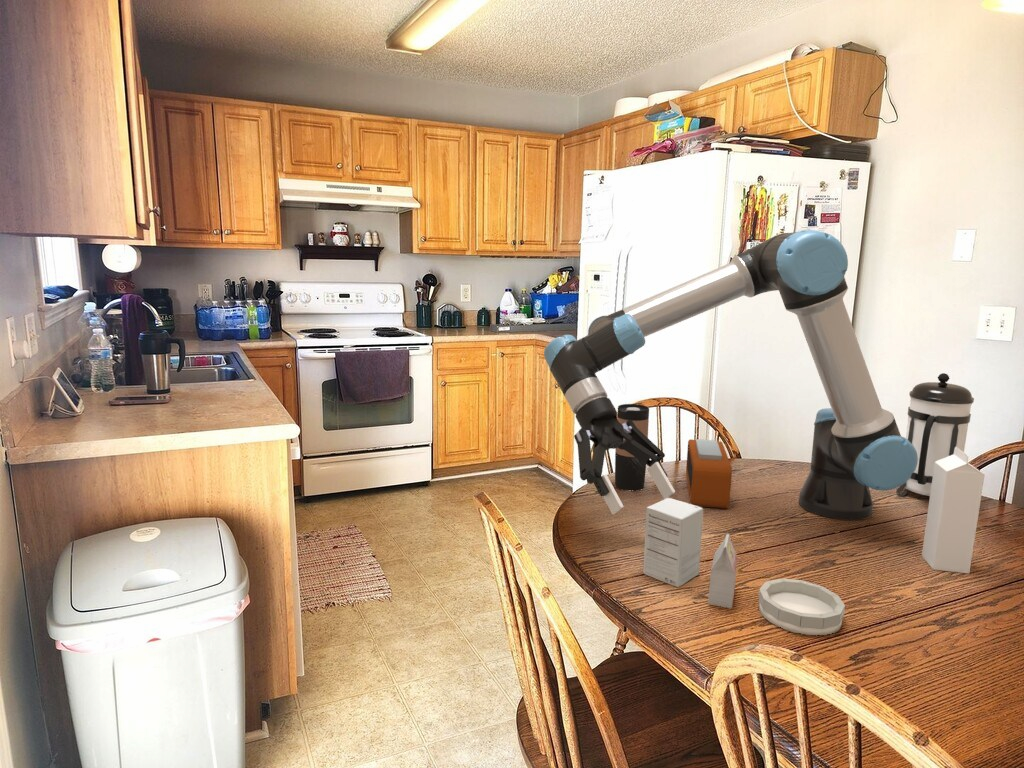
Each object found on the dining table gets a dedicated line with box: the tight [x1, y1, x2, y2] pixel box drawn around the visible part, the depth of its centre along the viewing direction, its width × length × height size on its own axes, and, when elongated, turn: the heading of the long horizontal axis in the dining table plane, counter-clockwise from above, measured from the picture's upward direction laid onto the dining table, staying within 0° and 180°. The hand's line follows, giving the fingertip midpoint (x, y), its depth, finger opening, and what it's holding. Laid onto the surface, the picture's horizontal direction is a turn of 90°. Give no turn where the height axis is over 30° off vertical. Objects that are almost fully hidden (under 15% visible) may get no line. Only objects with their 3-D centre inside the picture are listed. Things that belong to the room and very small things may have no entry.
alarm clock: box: [685, 438, 733, 509], centre depth 159 cm, size 24×8×11 cm, turn 168°
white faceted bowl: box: [758, 578, 846, 637], centre depth 104 cm, size 12×12×3 cm
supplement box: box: [642, 497, 704, 588], centre depth 116 cm, size 7×7×13 cm
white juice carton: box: [707, 533, 738, 609], centre depth 109 cm, size 4×7×10 cm, turn 158°
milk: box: [921, 447, 985, 574], centre depth 121 cm, size 6×6×22 cm
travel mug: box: [614, 403, 650, 492], centre depth 161 cm, size 8×8×20 cm
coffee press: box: [896, 372, 975, 497], centre depth 156 cm, size 17×16×30 cm
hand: (644, 503), depth 120 cm, fingers open, 13 cm apart
